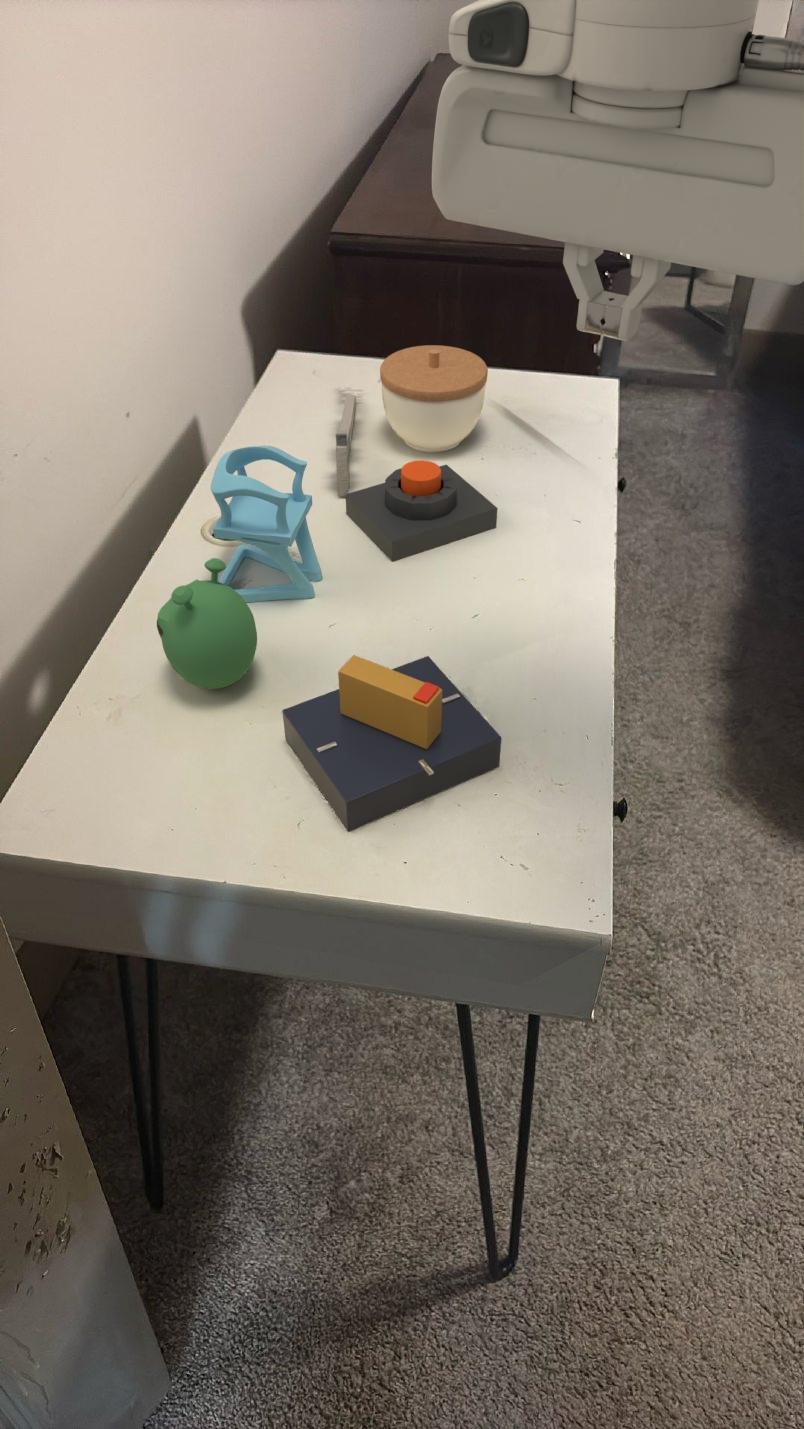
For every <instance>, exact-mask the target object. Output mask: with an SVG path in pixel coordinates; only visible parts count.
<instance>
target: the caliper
mask: <svg viewBox="0 0 804 1429" xmlns="http://www.w3.org/2000/svg"><path fill="white" fill-rule="evenodd" d="M356 402H357V397H356V394H346V395H345V400H344V405H343V410H342V415H341V416H342V417H341V422H340V424H339V428H338V429H336V433H335V457H336V458H335V459H336V482H337V483H336V484H337V495H338V496H345V495H346V494H348V493H349V490H350V457H351V451H352V450H351V448H352V447H351V444H352V436H353V435H352V434H353V429H354V421H355V415H356V406H357V405H356V404H357V403H356Z"/></svg>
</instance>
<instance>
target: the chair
mask: <svg viewBox="0 0 804 1429" xmlns="http://www.w3.org/2000/svg"><path fill="white" fill-rule="evenodd" d="M262 460H263V461H264V460H269V461H274V462H276V463H279V464H281V465H283V466H284V467H286V468H288V469H289V470H291V471H293V472H294V473H295V475H294V477H293V480H292V481H293V482H292V488H291V490H292V493H291V492H289V493H288V492H280V491H278V490H276V489H274V488H272V487H271V486H269V485H267V484H266V483H263V481H260V480H258V479H255V478H253V477H251V476H248V473H247V471H246V467H247V466H248V465H250V464H253V463H254V462H258V461H262ZM307 465H308V462H307V461H306V460H301V459H299V458H296V457H294V456H293V455H291V454H289V453H288V452H287V451H284V450H282V449H280V448H279V447H276V446H272V445H256V446H255V445H254V446H246V447H240V448H236V449H233V450H230V451H228V452H225V453H224V454H223V455H222V456H221V457H220V458H219V461H218V462H217V464H216V467H215V470H214V472H213V475H212V479H211V482H210V483H211V484H210V492H211V493H212V496H213V497H214V500H215V501H216V503H217V505H218V507H219V510H220V517H219V518H218V520H217V522H216V523H215V525H214V526H213V528H212V531H213V532H212V533H213V538H214V539H219V540H229V541H231V540H232V541H238V542H241V543H243V544H240V545H238V547H237V548H236V550H235V551H234V553H233V555H232V557H231V558H230V560H229V562H228V563H227V565H226V569H225V570H223V572H222V574H221V576H220V578H219V580H218V582H220V583H223V584H225V585H227V586H229V585H230V584H231V582H232V580H233V578H234V576H235V575H236V573H237V571H238V569H239V567H240V566H241V564H242V562H243V559H245V558H248V559H252V560H254V561H256V562H259V563H262V564H264V565H266V566H269V567H271V568H274V569H276V570H280V571H282V572H284V573H285V574H286V575H287V576H288V577H289V579H290V580H291V581H292V582H293V583H287V584H286V583H285V584H275V585H268V586H258V587H247V588H239V589H238V588H237V589H234V590H235V591H236V592H237V593H239V594H240V595H241V596H242V598H243V599H244V600H245V602H246V603H256V602H268V601H280V600H298V599H299V600H303V599H305V600H306V599H313V598H315V596H316V594H315V590H314V586H313V583H311V582H310V581H313V582H320V581H322V580H323V573H322V569H321V565H320V562H319V559H318V557H317V553H316V550H315V547H314V543H313V540H312V537H311V533H310V530H309V526H308V521H307V515H308V514H309V512H310V511H311V508H312V507H313V495H312V494H305V493H304V491H303V477H304V474H305V470H306V468H307ZM236 471H237V472H236ZM235 472H236V473H237V474H234V473H235ZM225 499H226V500H227V499H230V501H229V503H228V502H227V501H226V500H225ZM294 543H296V546H297V550H298V553H299V557H300V559H301V562H300V561H297V560H294V559H293V557H292V555H291V554H290V552H289V547H290V548H292V546H293V544H294ZM229 587H230V586H229Z"/></svg>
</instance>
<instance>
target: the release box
mask: <svg viewBox="0 0 804 1429" xmlns="http://www.w3.org/2000/svg"><path fill="white" fill-rule="evenodd" d="M438 466H439V465H438ZM439 467H440V469H441V488H440V490H439V492H438V493H435V494H432V495H429V496H413V495H410V494H407V493H404V492H403V490H402V488H401V469H402V467H400V468H398V469H395V470H394V471H392V473H391V474H390V475H388V476H387V477H386V478H385V480H384V482H383V483H378V484H375V485H372V486H368V487H364V488H361V489H358V490H354V491H352V492H348V494H346V495H344V496H345V514H346V516H347V517H349V519H350V520H351V521H352V522H353V523H354V524H355V525H356V526H358V528H359V529H360V530H361V531H362V532H363V533H364V534H365V535H366V537H367V538H369V540H370V541H371V542H372V543H373V544H374V545H375V546H376V547H377V548H378V549H379V550H380V551H381V552H382V553H383V554H384V555H385V556H386V557H387V558H388V559H389V560H390V561H391V562H392V563H393V562H397V561H400V560H403V559H405V558H406V559H407V558H409V557H412V556H415V555H417V554H421V553H424V552H427V551H430V550H433V549H436V548H440V547H442V546H445V545H449V544H451V543H455V542H458V541H461V540H463V539H466V538H469V537H473V536H475V535H479V534H481V533H485V532H488V531H491V530H494V529H497V522H498V521H497V520H498V507H497V506H496V505H495V504H494V503H492V502H491V501H490V500H489V499H488V498H486V497H485V496H484V495H483V494H482V493H480V491H478V490H477V489H476V488H475V487H473V486H472V485H471V484H470V483H469V482H468V481H467V480H465V479H464V478H463V477H462V476H461V475H459V473H457V472H456V471H455V470H454V469H453V468H451V466H449V465H448V464H442V465H440V466H439Z"/></svg>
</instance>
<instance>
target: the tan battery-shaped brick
mask: <svg viewBox="0 0 804 1429" xmlns="http://www.w3.org/2000/svg"><path fill="white" fill-rule="evenodd" d="M391 669H392V668H389V667H386V666H384V665H381V664H378V663H375V662H373V661H370V660H368V659H366V658H363V657H361V656H358V655H356V654H353V655H352V656H351V657H350V658H349V659H348V660H347V661H346V662H345V663H344V664H343V666H341V667H340V668H339V670H338V671H337V676H338V689H339V694H340V710H341V714H343V715H346V716H348V717H350V718H353V719H355V720H358V721H360V722H362V723H365V724H367V725H370V726H372V727H374V728H377V729H379V730H382V731H384V732H386V733H389V734H391V735H394V736H396V737H398V738H401V739H403V740H405V741H408V742H410V743H413V744H415V745H417V746H420V747H422V748H425V749H428V747H429V746H430V745H431V744H432V742H433V741H434V740H435V739H436V737H437V736H438V735H439V734H440V732H441V716H442V689H440V688H439V687H438V686H436V685H433V684H431V683H428V682H422V681H420V680H417V679H414V678H412V677H409V676H407V675H404V674H402V673H399V672H396V671H394V670H391Z"/></svg>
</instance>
